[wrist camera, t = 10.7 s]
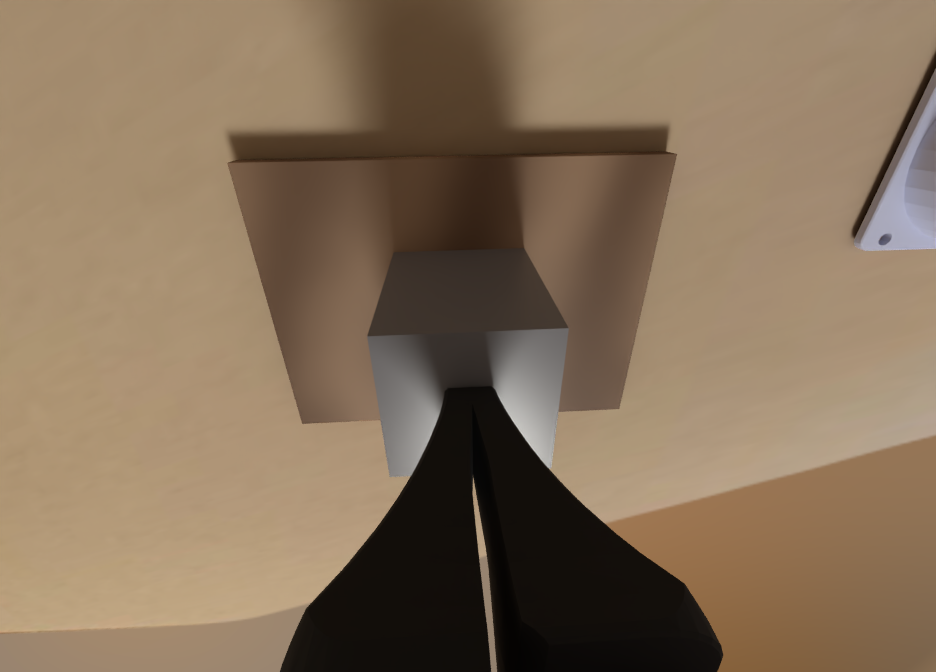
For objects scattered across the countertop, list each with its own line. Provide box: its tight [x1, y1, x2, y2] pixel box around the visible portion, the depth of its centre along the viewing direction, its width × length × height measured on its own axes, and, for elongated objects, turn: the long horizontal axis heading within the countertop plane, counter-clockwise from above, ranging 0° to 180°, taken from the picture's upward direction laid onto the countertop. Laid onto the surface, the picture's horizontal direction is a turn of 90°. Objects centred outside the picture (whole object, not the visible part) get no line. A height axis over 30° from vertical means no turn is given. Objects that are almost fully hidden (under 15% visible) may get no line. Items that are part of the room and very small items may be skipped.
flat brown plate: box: [228, 152, 677, 424], centre depth 16 cm, size 16×12×6 cm
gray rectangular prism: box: [367, 248, 569, 477], centre depth 15 cm, size 5×5×7 cm
